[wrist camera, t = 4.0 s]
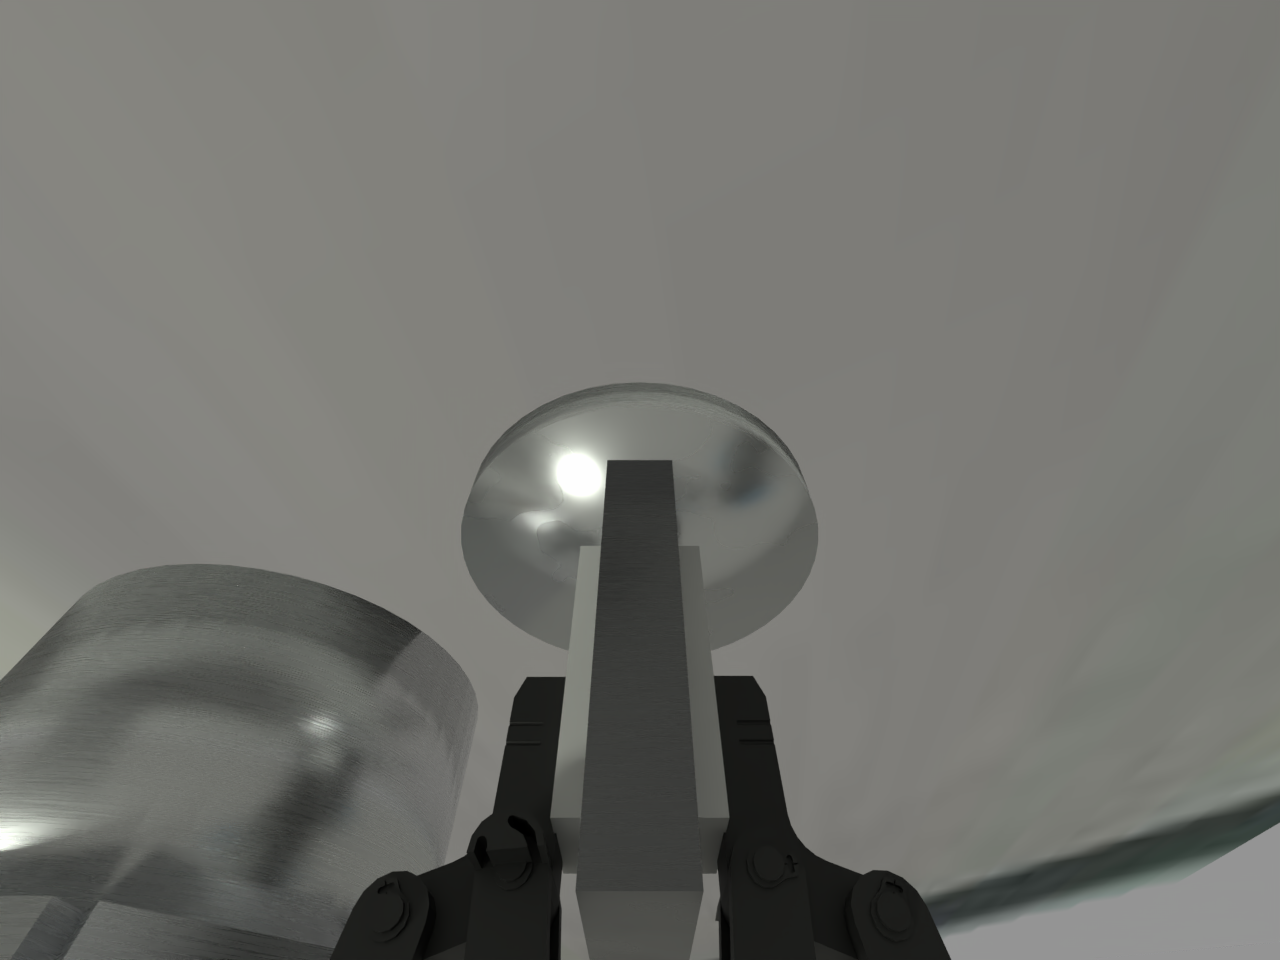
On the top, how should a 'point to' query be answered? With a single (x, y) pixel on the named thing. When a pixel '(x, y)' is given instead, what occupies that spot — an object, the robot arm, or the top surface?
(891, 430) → the top surface
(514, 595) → the lid
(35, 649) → the pot
